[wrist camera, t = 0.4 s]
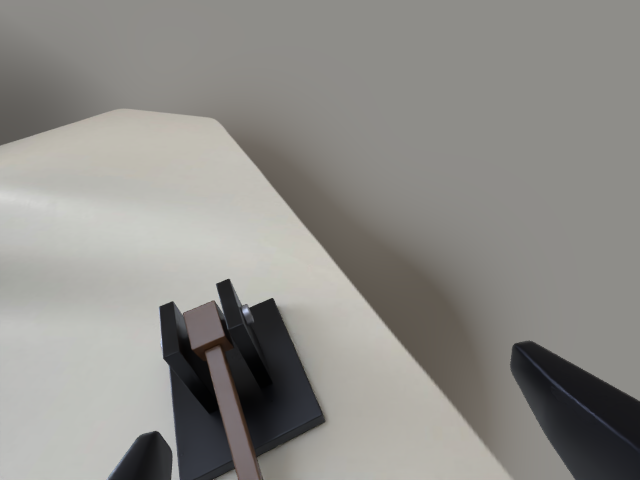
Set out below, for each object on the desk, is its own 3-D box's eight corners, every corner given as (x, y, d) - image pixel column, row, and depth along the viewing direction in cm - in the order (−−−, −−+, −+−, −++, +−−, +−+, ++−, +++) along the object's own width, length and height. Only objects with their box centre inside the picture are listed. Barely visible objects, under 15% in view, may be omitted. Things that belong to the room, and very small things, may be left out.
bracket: (325, 421, 26) (302, 354, 20) (187, 492, 24) (117, 440, 18) (275, 305, 35) (249, 235, 29) (172, 349, 33) (122, 284, 27)
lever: (323, 536, 19) (321, 540, 17) (231, 589, 18) (218, 601, 16) (241, 306, 27) (233, 291, 25) (175, 334, 26) (161, 321, 24)
